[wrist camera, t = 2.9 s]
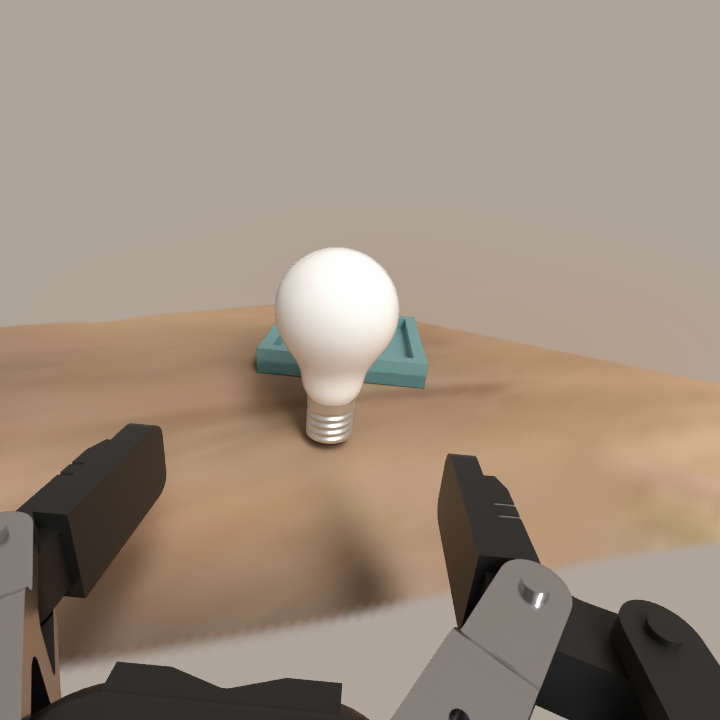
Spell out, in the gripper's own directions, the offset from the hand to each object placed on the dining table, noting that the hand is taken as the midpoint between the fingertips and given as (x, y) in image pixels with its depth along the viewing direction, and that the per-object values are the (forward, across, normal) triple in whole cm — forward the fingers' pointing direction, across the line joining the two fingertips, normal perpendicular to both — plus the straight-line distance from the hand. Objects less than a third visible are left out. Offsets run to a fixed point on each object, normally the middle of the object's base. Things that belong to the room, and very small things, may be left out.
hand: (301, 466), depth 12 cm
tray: (+26, 0, +6) cm, 27 cm away
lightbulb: (+11, 0, +6) cm, 13 cm away
